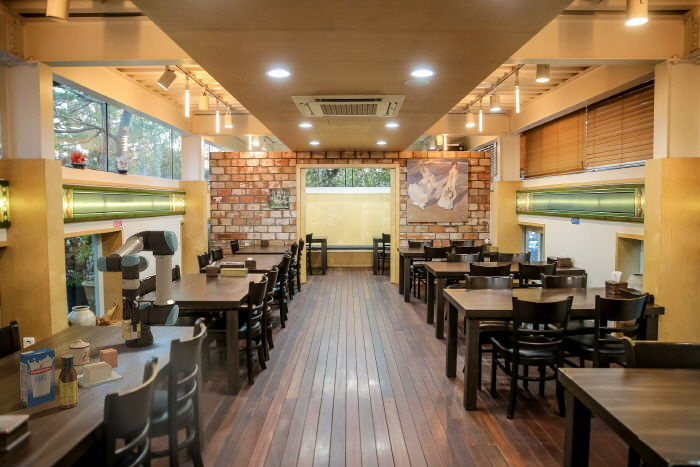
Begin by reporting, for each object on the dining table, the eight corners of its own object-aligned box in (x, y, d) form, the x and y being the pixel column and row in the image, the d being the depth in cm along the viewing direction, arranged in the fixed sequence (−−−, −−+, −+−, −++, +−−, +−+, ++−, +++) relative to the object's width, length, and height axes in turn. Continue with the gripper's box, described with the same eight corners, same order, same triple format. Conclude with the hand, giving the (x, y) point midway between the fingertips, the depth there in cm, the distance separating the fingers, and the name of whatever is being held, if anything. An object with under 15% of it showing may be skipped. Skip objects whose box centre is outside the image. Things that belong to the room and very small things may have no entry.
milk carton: (27, 407, 185) (27, 356, 184) (19, 404, 188) (19, 353, 187) (55, 399, 194) (54, 350, 193) (47, 396, 197) (46, 347, 196)
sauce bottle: (64, 403, 190) (63, 353, 189) (80, 402, 191) (80, 353, 190) (55, 409, 184) (55, 358, 183) (72, 409, 184) (72, 358, 183)
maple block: (134, 335, 230) (134, 318, 230) (140, 337, 226) (140, 320, 226) (122, 337, 226) (121, 320, 225) (127, 340, 222) (127, 322, 221)
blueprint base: (109, 370, 229) (109, 358, 228) (122, 379, 218) (122, 366, 218) (71, 378, 217) (71, 365, 217) (84, 388, 206) (84, 374, 206)
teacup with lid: (86, 365, 236) (86, 341, 235) (66, 366, 234) (66, 342, 233) (94, 358, 248) (93, 335, 247) (74, 359, 246) (74, 336, 245)
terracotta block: (112, 364, 239) (112, 348, 238) (117, 367, 234) (117, 350, 234) (99, 367, 234) (99, 350, 234) (104, 369, 230) (104, 353, 230)
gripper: (114, 286, 228) (114, 334, 230) (131, 291, 215) (131, 342, 217) (130, 284, 234) (130, 331, 235) (147, 289, 221) (147, 339, 222)
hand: (130, 336), depth 226 cm, fingers closed on maple block, 6 cm apart
